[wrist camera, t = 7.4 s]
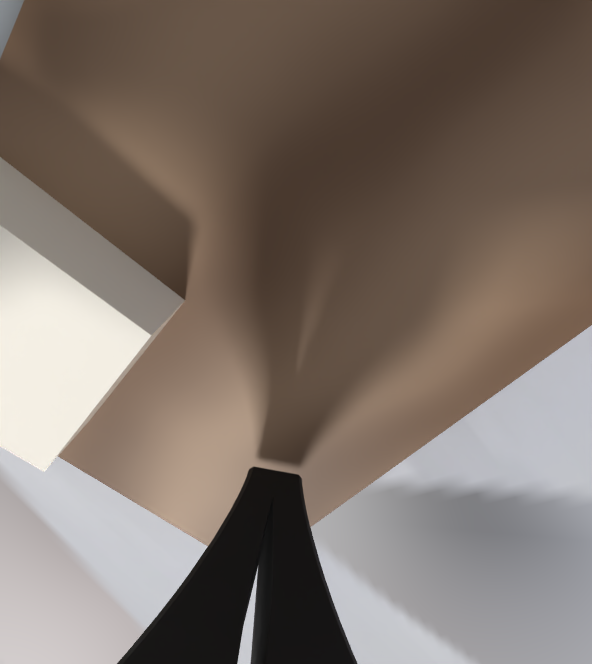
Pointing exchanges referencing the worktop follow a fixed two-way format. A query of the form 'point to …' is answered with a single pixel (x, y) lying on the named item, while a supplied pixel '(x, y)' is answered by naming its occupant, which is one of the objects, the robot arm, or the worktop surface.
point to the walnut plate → (312, 221)
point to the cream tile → (64, 319)
